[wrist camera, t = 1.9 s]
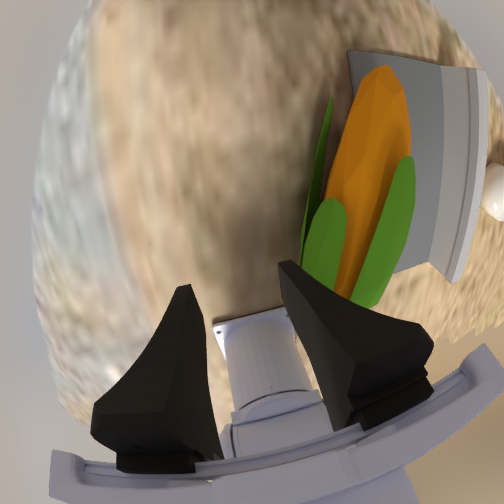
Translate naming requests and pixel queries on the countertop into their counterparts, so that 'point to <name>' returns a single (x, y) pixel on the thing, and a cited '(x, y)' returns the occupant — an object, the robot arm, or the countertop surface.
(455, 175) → the bracket
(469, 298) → the countertop surface
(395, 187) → the toy fruit
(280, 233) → the countertop surface
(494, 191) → the white glossy round part
